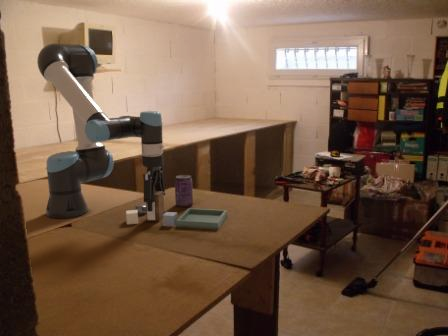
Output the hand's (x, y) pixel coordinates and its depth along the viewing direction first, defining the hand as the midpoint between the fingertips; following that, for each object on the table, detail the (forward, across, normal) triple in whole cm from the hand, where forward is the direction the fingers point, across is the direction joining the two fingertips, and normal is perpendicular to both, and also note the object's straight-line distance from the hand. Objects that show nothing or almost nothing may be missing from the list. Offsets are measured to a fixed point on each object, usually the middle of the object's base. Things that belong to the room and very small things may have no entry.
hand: (155, 215), depth 160 cm
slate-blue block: (+1, -5, -8) cm, 9 cm away
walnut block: (+1, 0, 0) cm, 1 cm away
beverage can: (+1, +19, -5) cm, 20 cm away
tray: (+1, 0, -18) cm, 18 cm away
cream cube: (+1, -5, +7) cm, 9 cm away
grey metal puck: (+1, +6, +8) cm, 10 cm away
